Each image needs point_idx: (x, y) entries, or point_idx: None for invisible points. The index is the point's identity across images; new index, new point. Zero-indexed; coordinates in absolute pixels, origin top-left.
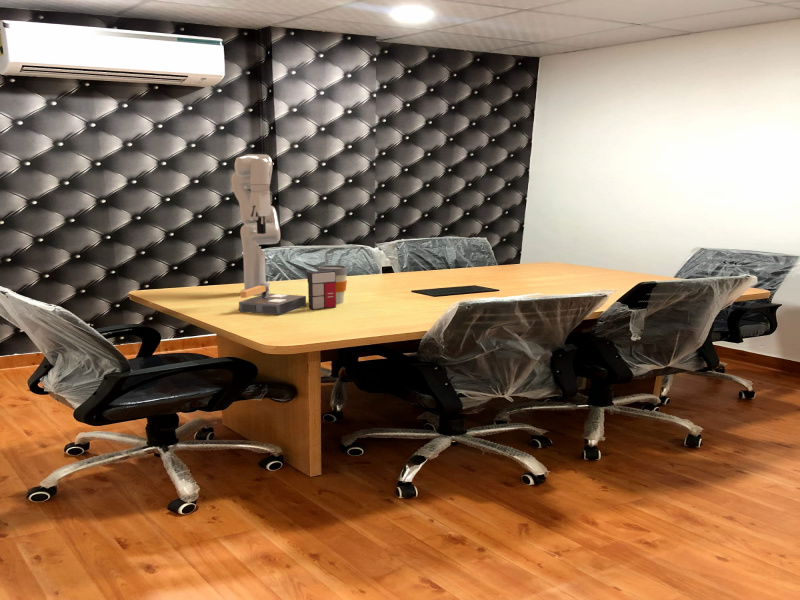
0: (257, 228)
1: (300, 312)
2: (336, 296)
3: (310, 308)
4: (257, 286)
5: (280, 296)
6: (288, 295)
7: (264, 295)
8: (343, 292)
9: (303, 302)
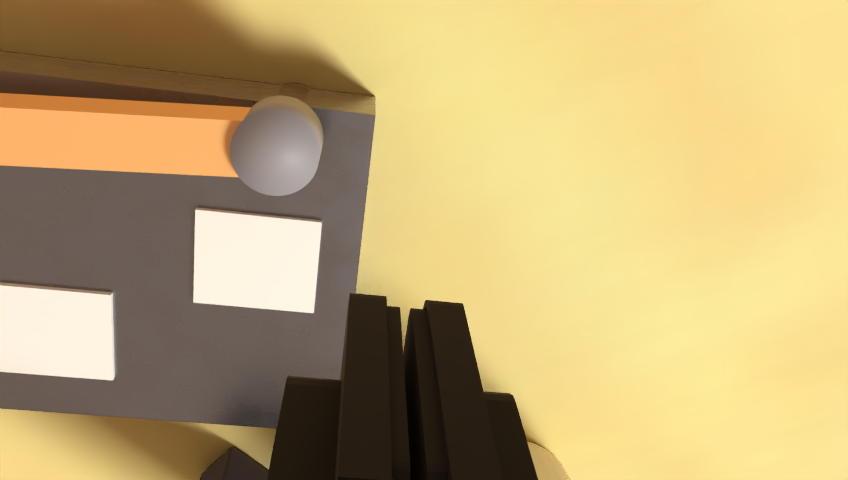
0: (343, 383)
1: (101, 439)
2: None
3: (211, 466)
4: (165, 124)
5: (226, 292)
6: (324, 315)
7: None
8: None
9: None
